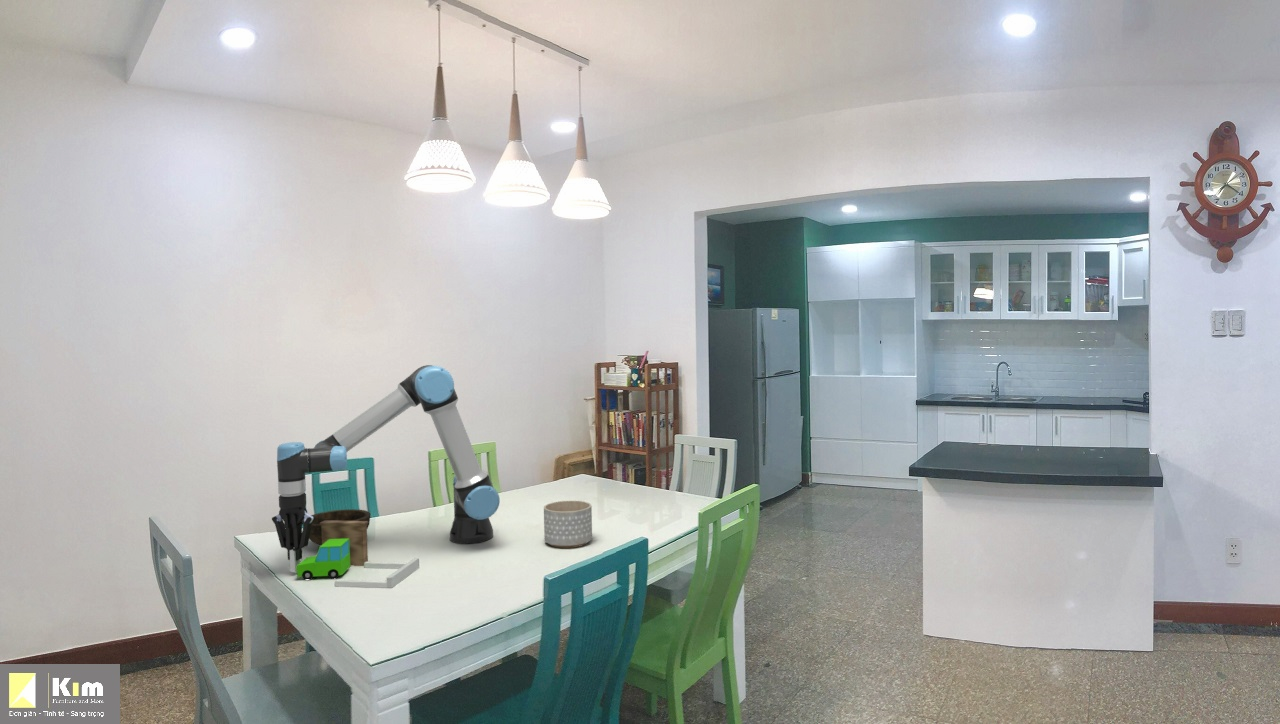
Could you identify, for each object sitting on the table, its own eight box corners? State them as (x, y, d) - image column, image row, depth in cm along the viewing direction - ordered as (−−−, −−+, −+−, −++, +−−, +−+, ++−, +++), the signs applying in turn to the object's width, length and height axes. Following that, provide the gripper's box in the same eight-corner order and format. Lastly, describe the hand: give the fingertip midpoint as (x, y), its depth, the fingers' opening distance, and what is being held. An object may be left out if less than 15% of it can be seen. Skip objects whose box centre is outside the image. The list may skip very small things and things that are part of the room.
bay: (419, 567, 222) (419, 558, 222) (391, 588, 204) (391, 577, 204) (366, 566, 224) (366, 556, 224) (334, 586, 206) (334, 576, 206)
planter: (602, 541, 247) (601, 505, 246) (566, 552, 235) (565, 514, 234) (570, 533, 258) (569, 498, 257) (534, 543, 246) (533, 506, 245)
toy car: (307, 571, 221) (306, 539, 221) (351, 569, 222) (350, 537, 222) (294, 582, 211) (293, 549, 210) (340, 580, 212) (339, 547, 212)
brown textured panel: (369, 563, 227) (368, 521, 227) (364, 566, 224) (363, 523, 224) (326, 562, 229) (324, 520, 229) (321, 565, 226) (319, 522, 226)
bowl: (304, 558, 233) (303, 528, 233) (302, 542, 253) (301, 514, 252) (375, 548, 243) (374, 519, 243) (367, 533, 263) (366, 506, 262)
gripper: (319, 491, 220) (322, 566, 221) (280, 490, 221) (283, 565, 222) (304, 496, 212) (307, 574, 213) (264, 496, 214) (267, 573, 215)
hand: (295, 570), depth 218 cm, fingers closed
